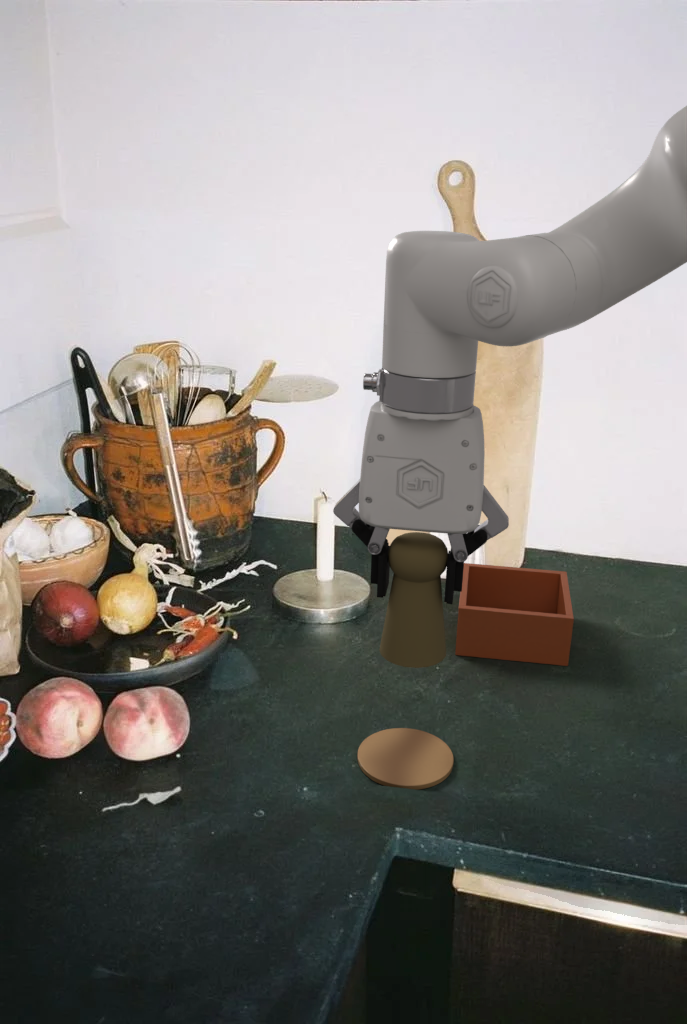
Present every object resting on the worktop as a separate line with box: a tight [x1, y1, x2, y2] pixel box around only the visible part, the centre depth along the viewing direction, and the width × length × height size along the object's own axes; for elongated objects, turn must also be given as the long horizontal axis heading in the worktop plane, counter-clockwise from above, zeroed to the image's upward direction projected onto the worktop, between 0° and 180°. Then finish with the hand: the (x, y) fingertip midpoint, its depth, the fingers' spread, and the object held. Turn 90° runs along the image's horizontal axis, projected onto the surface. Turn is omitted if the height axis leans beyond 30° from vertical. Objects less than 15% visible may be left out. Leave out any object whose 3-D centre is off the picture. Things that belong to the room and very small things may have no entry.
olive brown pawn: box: [378, 531, 449, 669], centre depth 82 cm, size 6×6×11 cm
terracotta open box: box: [454, 562, 575, 667], centre depth 110 cm, size 13×13×6 cm
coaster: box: [356, 727, 454, 791], centre depth 88 cm, size 9×9×1 cm
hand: (416, 592), depth 82 cm, fingers closed on olive brown pawn, 5 cm apart
